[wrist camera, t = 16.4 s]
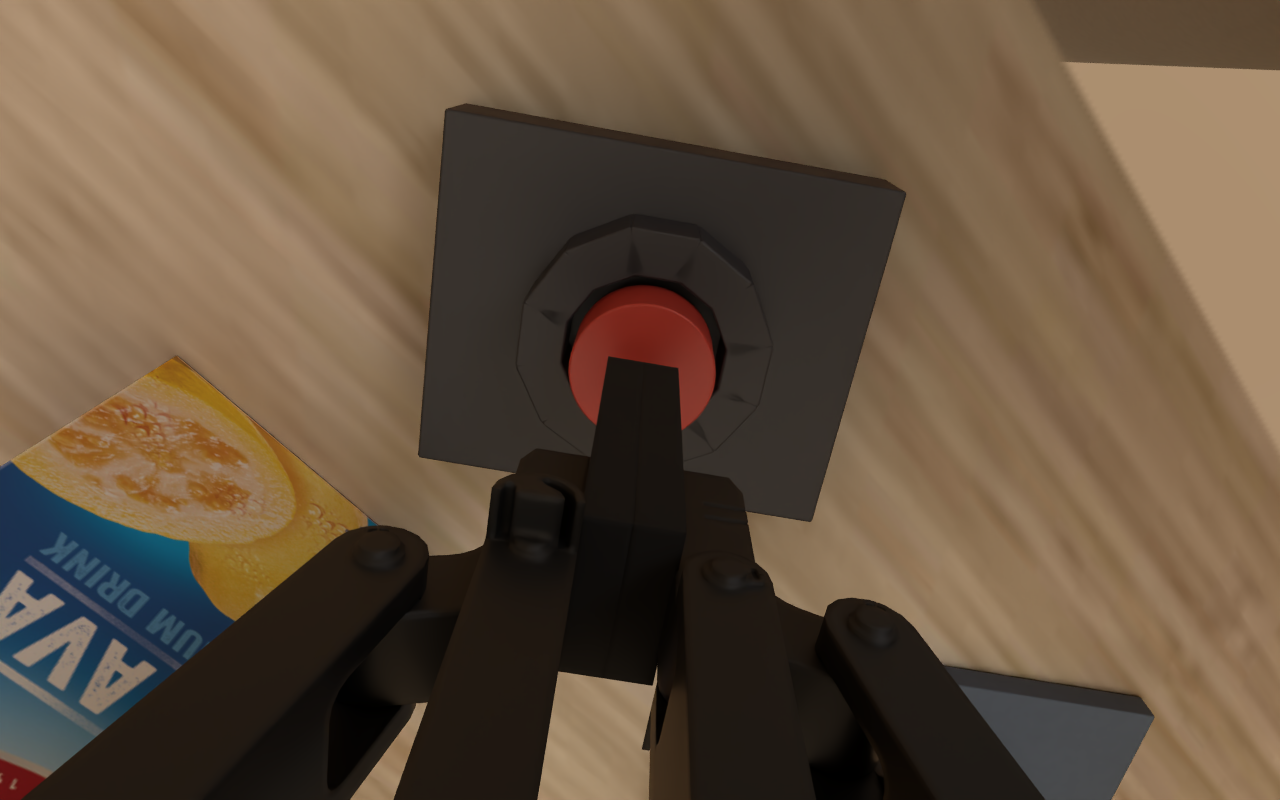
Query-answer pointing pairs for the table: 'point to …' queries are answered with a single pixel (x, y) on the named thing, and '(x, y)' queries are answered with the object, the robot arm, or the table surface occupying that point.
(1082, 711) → the ironing mat
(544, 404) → the button base
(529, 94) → the table surface
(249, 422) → the beverage box
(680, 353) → the power button
